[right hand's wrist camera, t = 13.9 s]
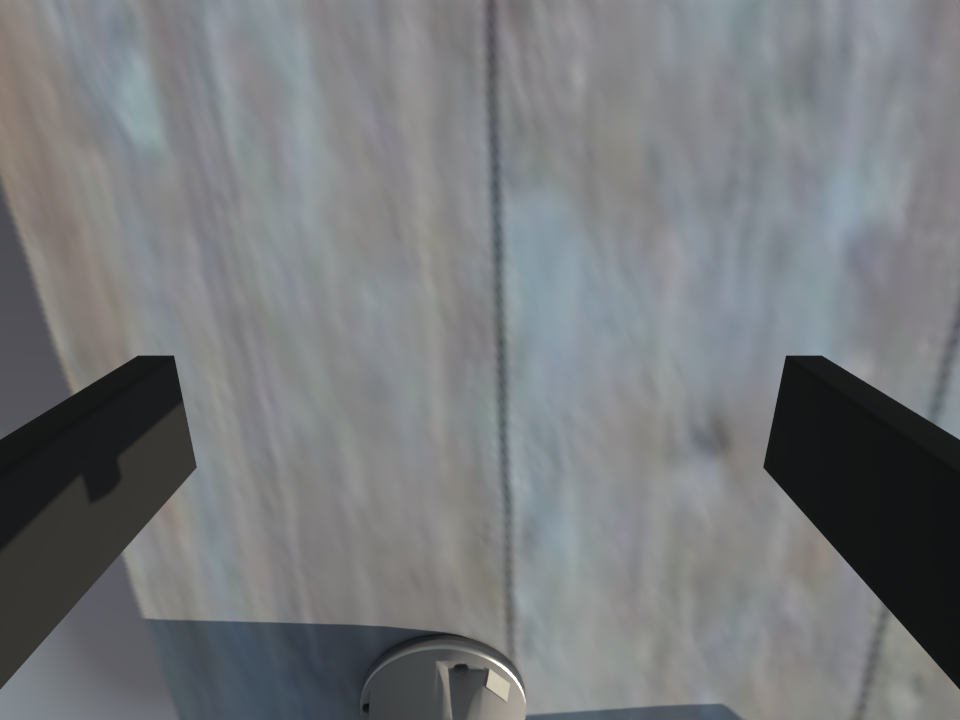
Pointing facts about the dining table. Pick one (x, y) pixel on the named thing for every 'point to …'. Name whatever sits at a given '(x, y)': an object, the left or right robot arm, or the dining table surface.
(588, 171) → the dining table surface
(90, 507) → the right robot arm
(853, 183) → the dining table surface
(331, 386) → the dining table surface
